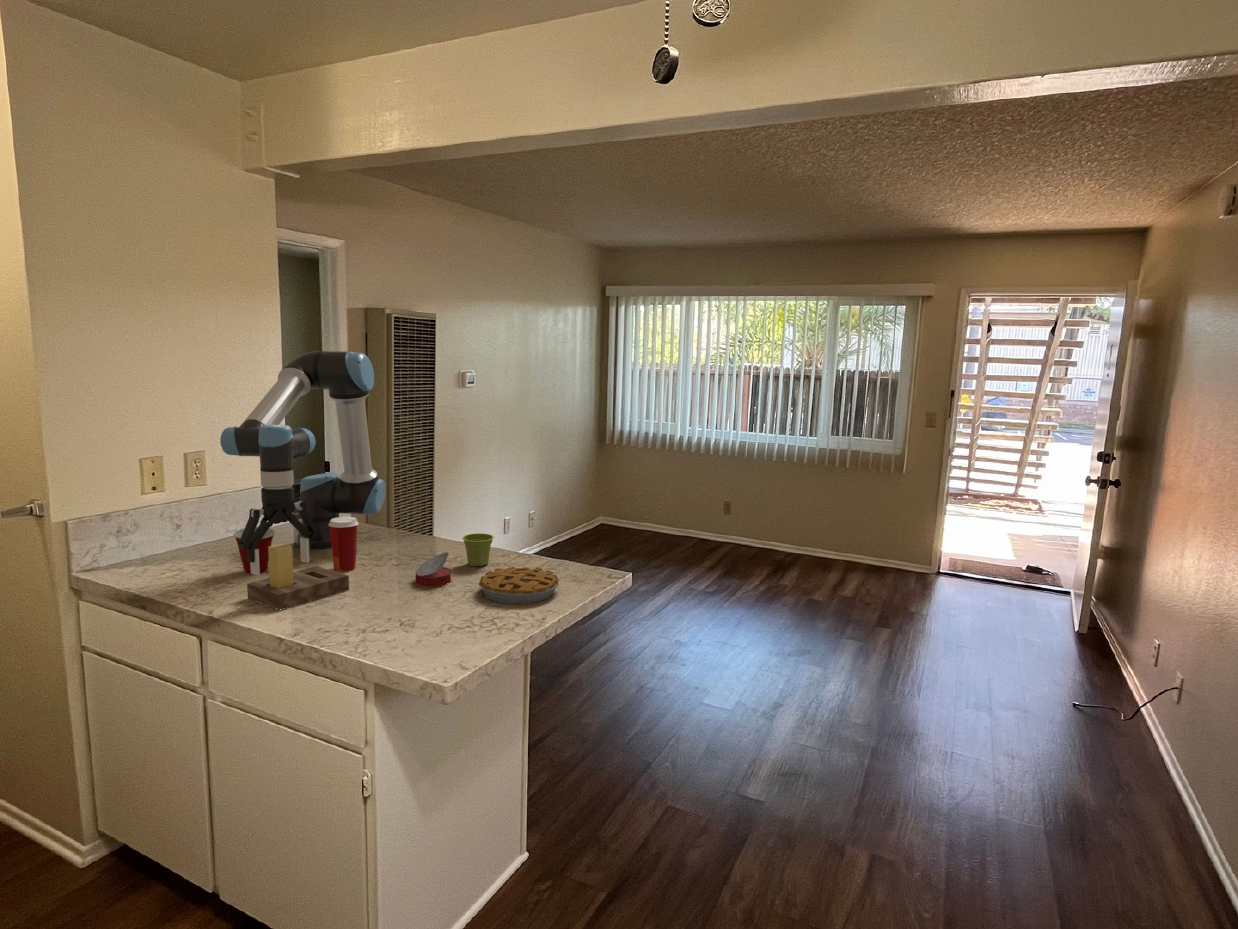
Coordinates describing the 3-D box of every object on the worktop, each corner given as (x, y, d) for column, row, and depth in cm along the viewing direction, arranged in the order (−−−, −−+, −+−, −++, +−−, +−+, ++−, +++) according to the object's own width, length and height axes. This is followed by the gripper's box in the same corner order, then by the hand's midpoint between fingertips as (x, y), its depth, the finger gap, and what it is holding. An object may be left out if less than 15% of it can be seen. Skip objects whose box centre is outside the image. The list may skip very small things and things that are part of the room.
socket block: (317, 579, 199) (316, 566, 198) (349, 589, 191) (348, 575, 191) (247, 598, 182) (247, 583, 182) (279, 610, 175) (278, 594, 174)
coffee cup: (364, 565, 213) (363, 517, 211) (351, 573, 205) (350, 523, 203) (337, 564, 214) (336, 515, 212) (323, 572, 206) (322, 521, 204)
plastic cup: (246, 579, 197) (244, 537, 195) (228, 571, 203) (226, 531, 202) (284, 571, 206) (282, 531, 204) (265, 563, 212) (264, 524, 210)
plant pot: (490, 569, 214) (490, 541, 213) (459, 568, 214) (459, 540, 213) (496, 560, 223) (496, 533, 222) (466, 559, 223) (466, 532, 222)
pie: (467, 602, 185) (467, 584, 184) (492, 578, 206) (492, 561, 206) (549, 609, 182) (549, 590, 182) (566, 583, 204) (566, 566, 203)
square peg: (284, 595, 185) (282, 543, 183) (294, 598, 183) (292, 546, 181) (270, 599, 182) (268, 546, 180) (279, 602, 180) (277, 549, 178)
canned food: (443, 602, 198) (439, 577, 192) (410, 594, 200) (405, 569, 194) (460, 573, 207) (456, 549, 201) (428, 567, 209) (424, 542, 203)
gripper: (313, 478, 191) (315, 554, 194) (219, 491, 170) (224, 576, 173) (330, 481, 187) (332, 559, 190) (236, 495, 166) (241, 582, 169)
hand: (281, 567), depth 182 cm, fingers open, 13 cm apart
